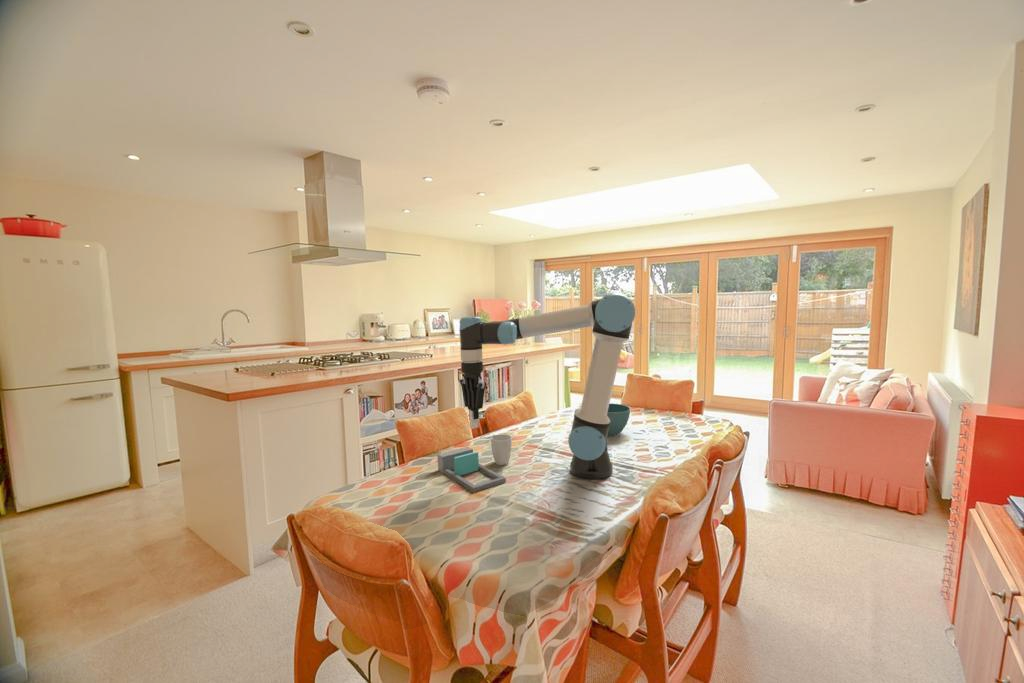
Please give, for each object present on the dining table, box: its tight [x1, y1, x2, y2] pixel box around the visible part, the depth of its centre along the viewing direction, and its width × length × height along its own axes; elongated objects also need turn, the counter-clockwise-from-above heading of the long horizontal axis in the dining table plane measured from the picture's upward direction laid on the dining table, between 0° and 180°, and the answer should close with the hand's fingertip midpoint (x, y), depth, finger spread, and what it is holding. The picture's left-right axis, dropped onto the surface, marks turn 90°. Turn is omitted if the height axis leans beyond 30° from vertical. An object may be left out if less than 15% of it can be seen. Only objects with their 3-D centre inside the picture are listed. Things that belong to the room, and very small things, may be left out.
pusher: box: [454, 451, 480, 476], centre depth 160 cm, size 5×9×7 cm, turn 126°
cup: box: [490, 433, 513, 466], centre depth 168 cm, size 8×8×10 cm
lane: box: [437, 446, 507, 493], centre depth 157 cm, size 26×13×6 cm, turn 36°
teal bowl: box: [607, 403, 631, 437], centre depth 202 cm, size 18×18×12 cm
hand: (474, 427), depth 153 cm, fingers closed
